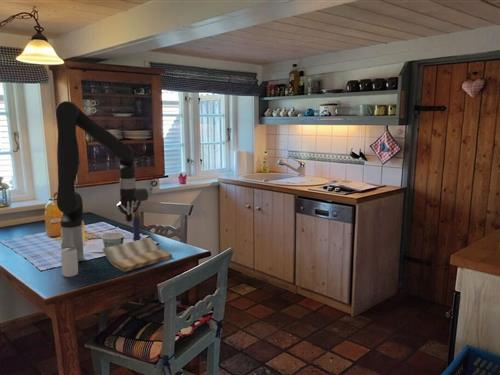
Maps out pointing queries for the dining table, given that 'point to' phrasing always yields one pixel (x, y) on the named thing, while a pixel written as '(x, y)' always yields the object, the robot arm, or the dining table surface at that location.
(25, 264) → the dining table surface
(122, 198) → the robot arm
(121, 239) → the food container
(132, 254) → the cream ridged flat piece
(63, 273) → the can
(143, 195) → the rubber mallet
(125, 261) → the oak board
